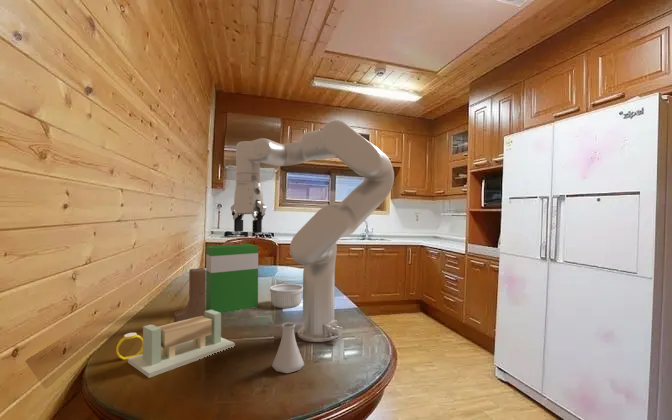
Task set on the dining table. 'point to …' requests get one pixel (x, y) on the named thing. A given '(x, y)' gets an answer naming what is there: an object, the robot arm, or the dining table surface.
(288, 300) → the ramekin
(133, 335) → the watch
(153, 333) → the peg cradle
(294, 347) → the flask
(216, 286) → the green cereal box
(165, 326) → the tan wooden bar
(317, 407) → the dining table surface
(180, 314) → the wooden block
